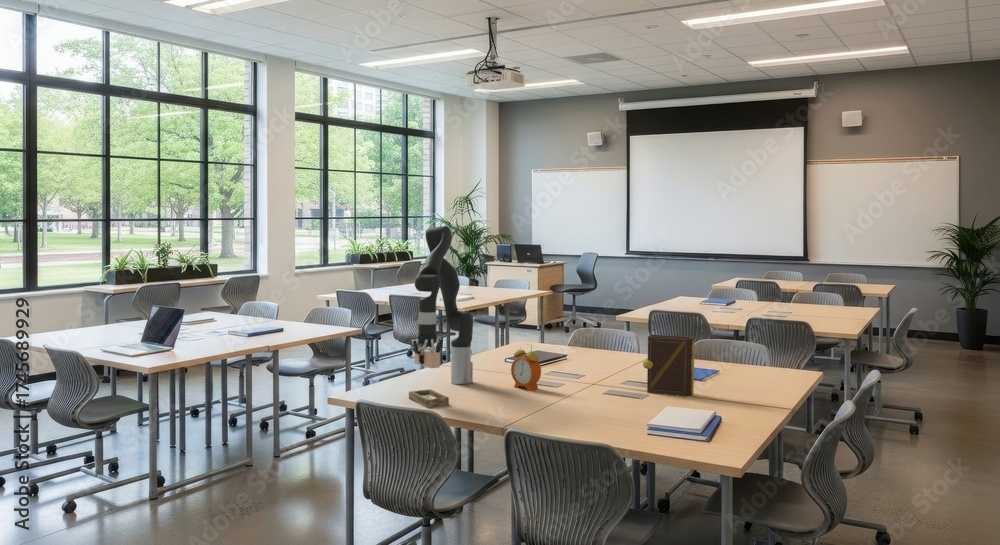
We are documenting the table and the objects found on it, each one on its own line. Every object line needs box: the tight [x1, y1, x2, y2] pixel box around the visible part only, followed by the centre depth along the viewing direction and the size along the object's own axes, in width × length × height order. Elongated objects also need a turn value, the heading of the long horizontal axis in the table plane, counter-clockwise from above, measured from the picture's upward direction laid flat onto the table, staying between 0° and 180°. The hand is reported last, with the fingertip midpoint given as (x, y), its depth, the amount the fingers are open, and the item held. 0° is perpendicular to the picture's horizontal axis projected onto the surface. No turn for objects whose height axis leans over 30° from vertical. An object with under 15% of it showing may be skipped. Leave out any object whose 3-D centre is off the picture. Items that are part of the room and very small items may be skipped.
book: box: [642, 334, 695, 397], centre depth 338 cm, size 22×8×25 cm, turn 65°
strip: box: [414, 348, 441, 369], centre depth 321 cm, size 4×14×6 cm, turn 35°
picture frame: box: [408, 388, 450, 409], centre depth 322 cm, size 10×18×3 cm, turn 30°
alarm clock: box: [510, 344, 542, 392], centre depth 347 cm, size 13×6×20 cm, turn 47°
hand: (427, 363), depth 321 cm, fingers closed on strip, 4 cm apart
